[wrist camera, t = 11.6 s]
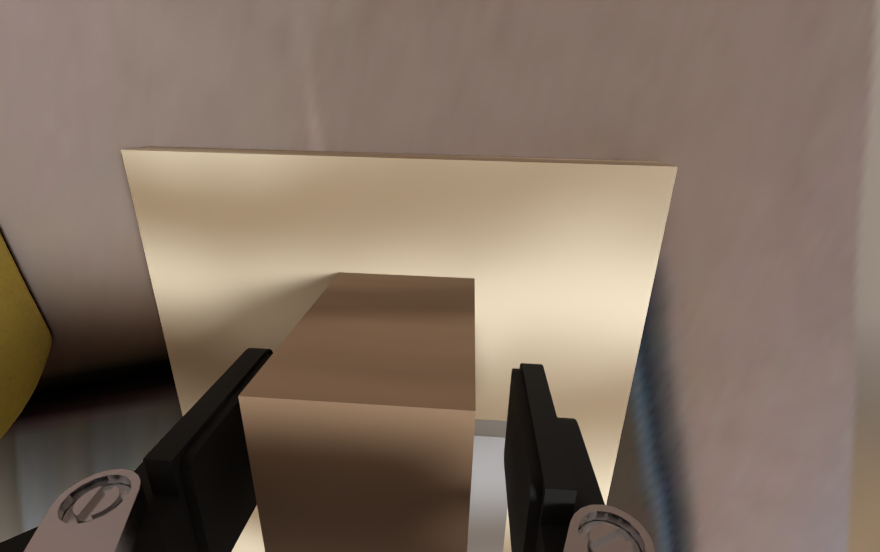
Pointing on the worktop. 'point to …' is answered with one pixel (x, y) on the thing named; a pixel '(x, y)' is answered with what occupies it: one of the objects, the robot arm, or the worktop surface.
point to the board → (410, 262)
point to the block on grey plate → (377, 424)
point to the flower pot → (18, 342)
